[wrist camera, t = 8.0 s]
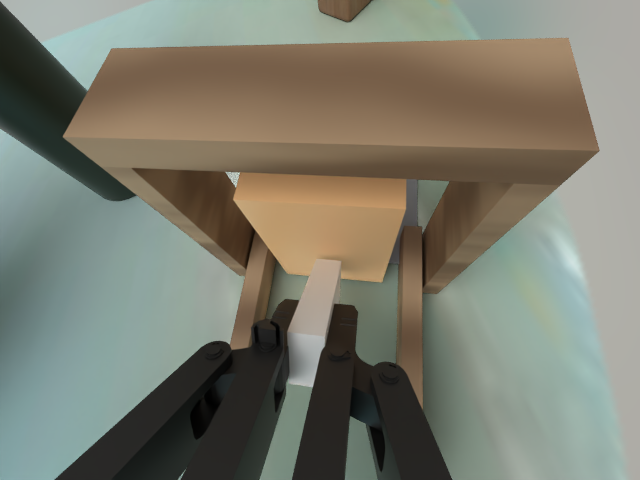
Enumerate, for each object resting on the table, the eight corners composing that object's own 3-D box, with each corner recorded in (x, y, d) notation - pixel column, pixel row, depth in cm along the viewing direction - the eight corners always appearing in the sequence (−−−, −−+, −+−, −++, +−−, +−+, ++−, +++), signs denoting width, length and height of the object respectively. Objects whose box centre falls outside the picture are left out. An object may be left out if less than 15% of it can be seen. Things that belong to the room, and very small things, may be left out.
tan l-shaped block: (382, 282, 22) (405, 209, 12) (287, 273, 23) (233, 199, 13) (388, 147, 26) (409, 9, 16) (309, 145, 27) (281, 14, 17)
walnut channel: (441, 504, 17) (899, 1234, 3) (197, 458, 19) (-266, 729, 5) (435, 241, 23) (568, 37, 9) (249, 229, 25) (111, 48, 11)
